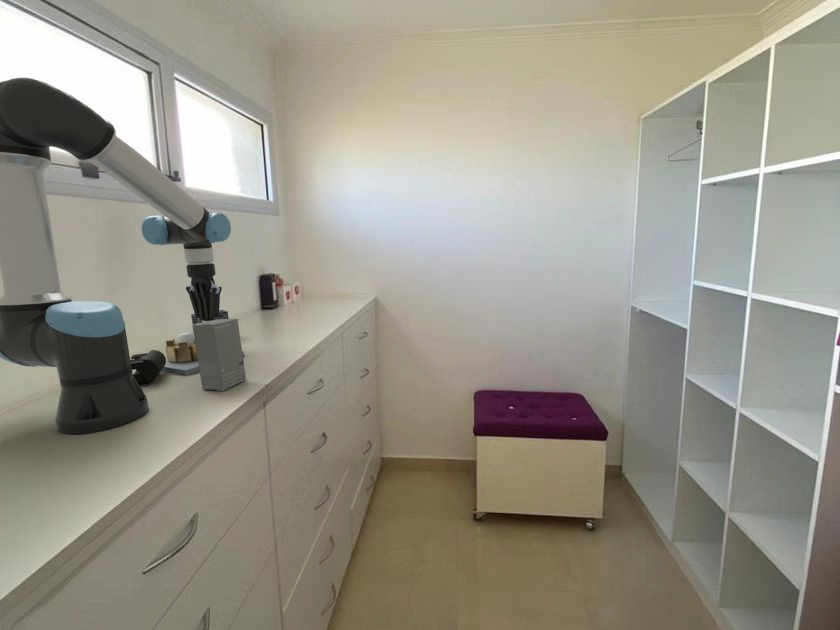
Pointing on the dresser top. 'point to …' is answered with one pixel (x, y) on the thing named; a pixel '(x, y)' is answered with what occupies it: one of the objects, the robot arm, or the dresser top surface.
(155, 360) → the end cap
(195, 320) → the small box
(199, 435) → the dresser top surface
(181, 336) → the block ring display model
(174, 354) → the gold ring with handle
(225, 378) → the grey rectangular box
